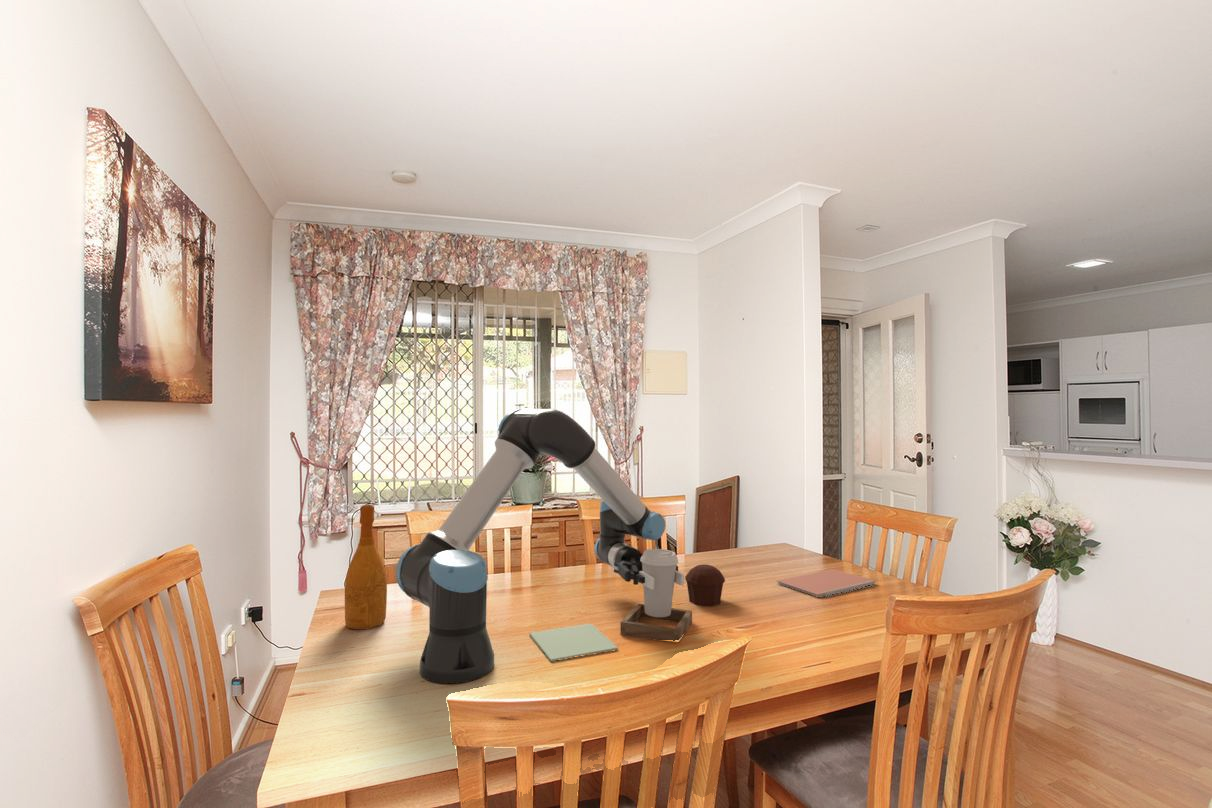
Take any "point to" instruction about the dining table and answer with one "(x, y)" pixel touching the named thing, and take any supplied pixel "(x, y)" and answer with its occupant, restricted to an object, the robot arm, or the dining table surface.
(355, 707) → the dining table surface
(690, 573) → the muffin
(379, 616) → the wine bottle
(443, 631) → the robot arm
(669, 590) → the coffee cup
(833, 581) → the notebook
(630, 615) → the square tray
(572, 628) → the mat
